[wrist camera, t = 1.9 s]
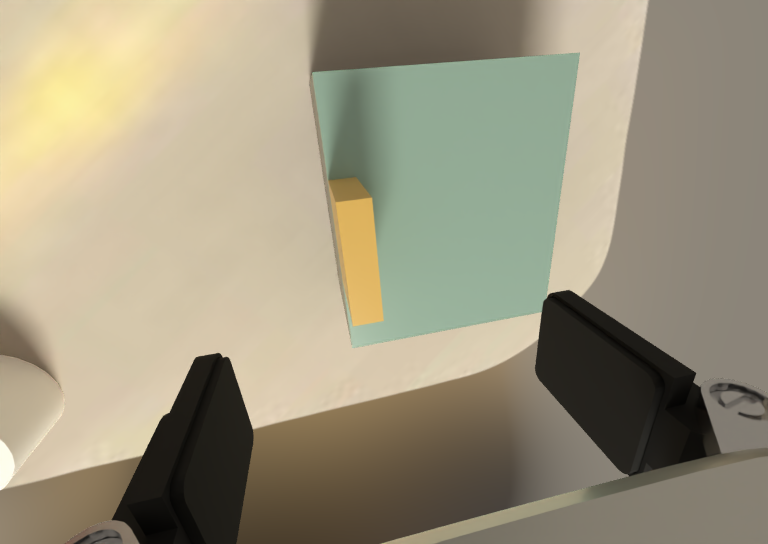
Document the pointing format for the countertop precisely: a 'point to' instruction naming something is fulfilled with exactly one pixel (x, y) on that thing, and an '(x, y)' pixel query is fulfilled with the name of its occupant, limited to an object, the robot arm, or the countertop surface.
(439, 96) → the door
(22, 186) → the countertop surface
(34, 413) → the cylinder with rectangular tab
